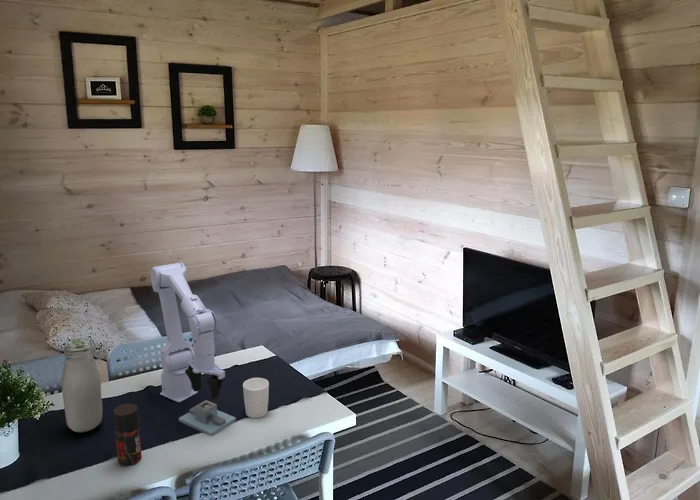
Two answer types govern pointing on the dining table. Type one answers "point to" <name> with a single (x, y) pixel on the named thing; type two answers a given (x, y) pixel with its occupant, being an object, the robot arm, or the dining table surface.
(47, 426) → the dining table surface
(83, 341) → the glass bottle
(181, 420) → the shaft base
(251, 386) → the white cup
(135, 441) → the deodorant
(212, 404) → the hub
